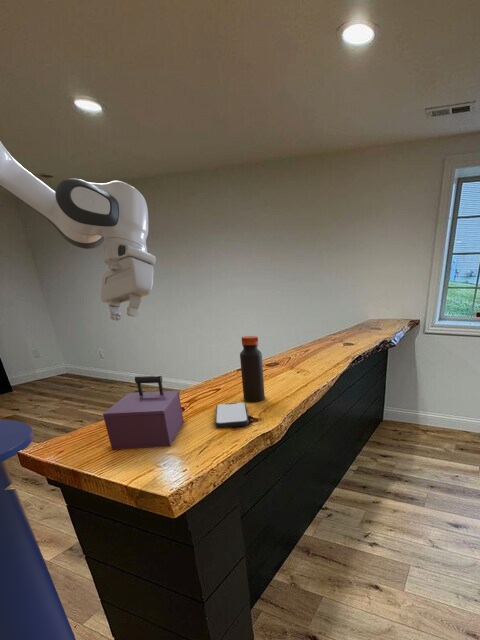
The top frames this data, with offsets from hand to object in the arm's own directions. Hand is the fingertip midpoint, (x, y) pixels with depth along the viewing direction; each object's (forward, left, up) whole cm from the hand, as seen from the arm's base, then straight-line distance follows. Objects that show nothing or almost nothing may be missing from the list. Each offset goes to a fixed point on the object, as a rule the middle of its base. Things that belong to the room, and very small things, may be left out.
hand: (123, 318), depth 84 cm
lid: (+4, -9, -19) cm, 22 cm away
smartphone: (+23, +1, -27) cm, 36 cm away
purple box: (+4, -9, -27) cm, 29 cm away
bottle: (+29, +17, -27) cm, 43 cm away
